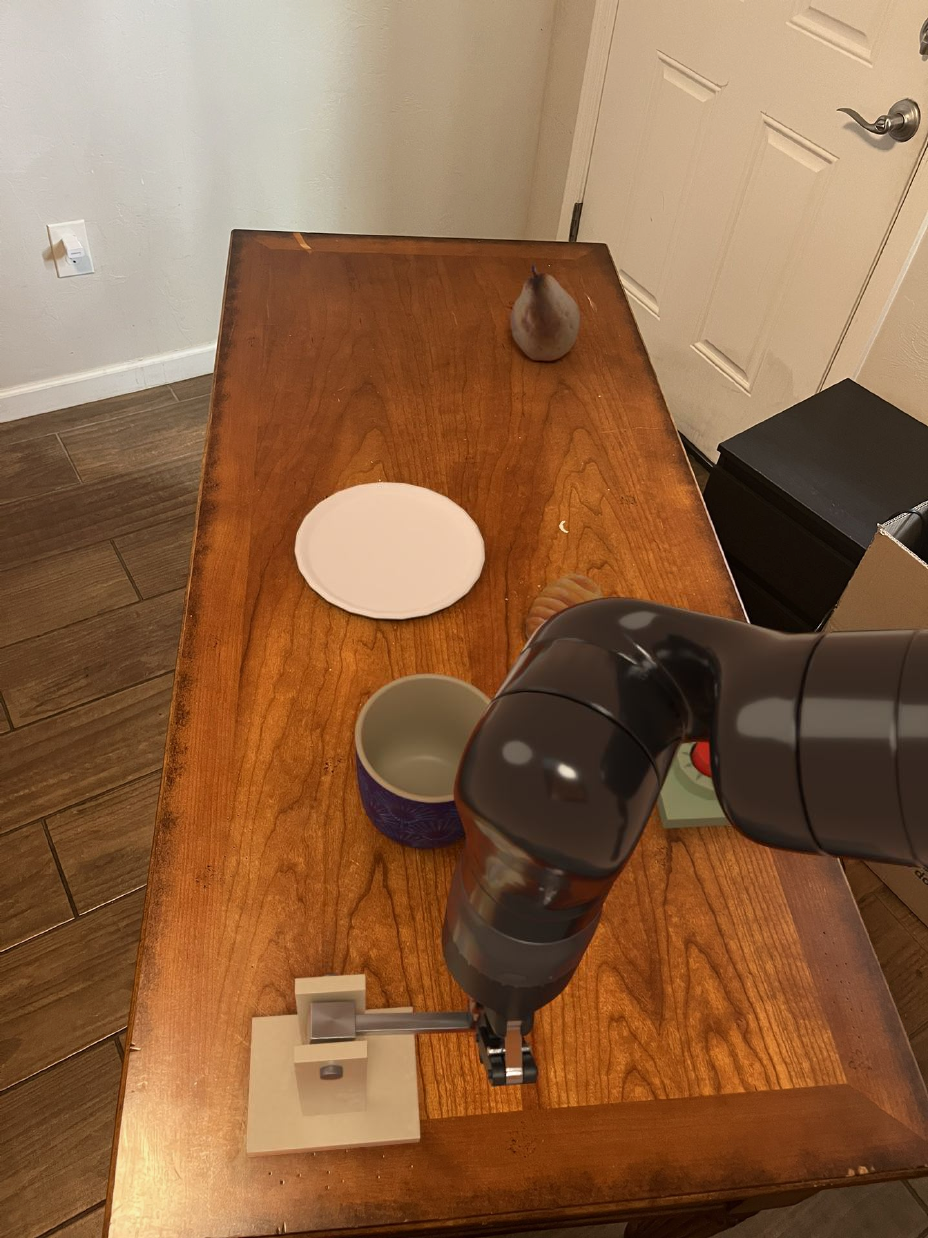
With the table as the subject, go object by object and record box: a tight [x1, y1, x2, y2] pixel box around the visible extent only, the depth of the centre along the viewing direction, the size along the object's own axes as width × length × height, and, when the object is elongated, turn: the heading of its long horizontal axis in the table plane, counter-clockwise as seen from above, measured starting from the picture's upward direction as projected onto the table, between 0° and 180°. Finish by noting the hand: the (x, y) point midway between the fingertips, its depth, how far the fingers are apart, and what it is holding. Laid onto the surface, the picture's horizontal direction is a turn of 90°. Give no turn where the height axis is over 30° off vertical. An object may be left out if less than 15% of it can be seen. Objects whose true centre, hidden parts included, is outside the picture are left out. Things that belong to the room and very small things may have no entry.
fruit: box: [510, 265, 581, 362], centre depth 127 cm, size 10×9×12 cm
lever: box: [307, 1002, 484, 1065], centre depth 60 cm, size 12×5×2 cm, turn 96°
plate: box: [294, 481, 486, 621], centre depth 103 cm, size 21×21×1 cm
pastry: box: [525, 572, 605, 640], centre depth 98 cm, size 9×7×4 cm
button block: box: [656, 742, 732, 829], centre depth 87 cm, size 10×10×4 cm
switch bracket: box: [245, 973, 421, 1158], centre depth 63 cm, size 12×9×15 cm
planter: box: [354, 673, 492, 850], centre depth 80 cm, size 12×12×11 cm
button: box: [692, 742, 711, 777], centre depth 86 cm, size 4×4×2 cm
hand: (484, 1017), depth 61 cm, fingers closed
